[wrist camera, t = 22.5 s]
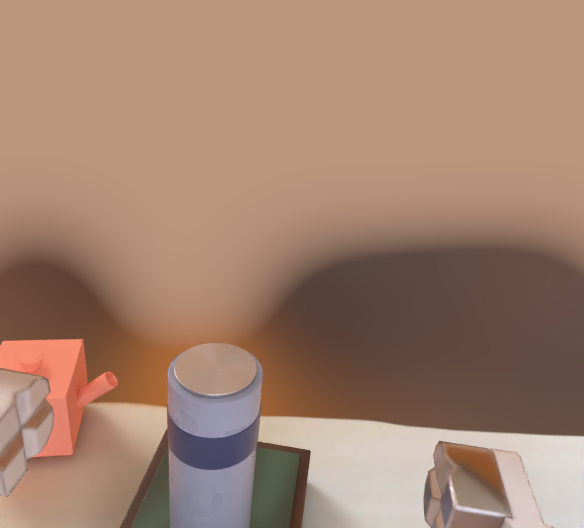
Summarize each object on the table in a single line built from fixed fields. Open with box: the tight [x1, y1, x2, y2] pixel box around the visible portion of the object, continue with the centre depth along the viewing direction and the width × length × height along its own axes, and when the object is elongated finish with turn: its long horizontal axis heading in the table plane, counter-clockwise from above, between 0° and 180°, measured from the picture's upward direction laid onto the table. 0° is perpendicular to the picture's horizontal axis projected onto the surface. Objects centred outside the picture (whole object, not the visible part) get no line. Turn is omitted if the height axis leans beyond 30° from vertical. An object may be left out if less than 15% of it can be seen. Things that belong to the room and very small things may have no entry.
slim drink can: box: [167, 343, 263, 528], centre depth 32 cm, size 5×5×14 cm
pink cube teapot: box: [0, 339, 117, 457], centre depth 45 cm, size 8×12×8 cm, turn 100°
